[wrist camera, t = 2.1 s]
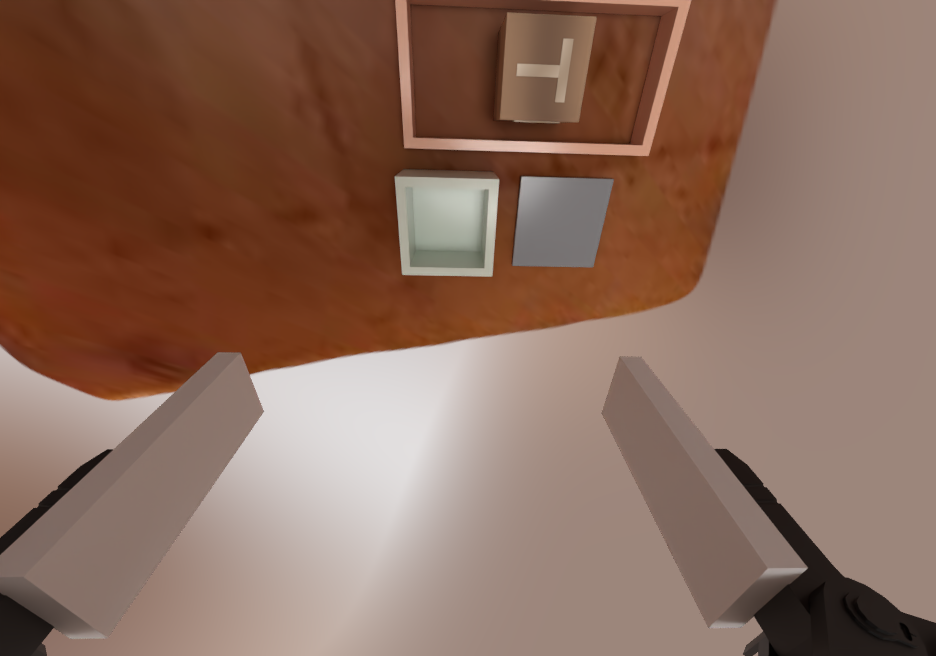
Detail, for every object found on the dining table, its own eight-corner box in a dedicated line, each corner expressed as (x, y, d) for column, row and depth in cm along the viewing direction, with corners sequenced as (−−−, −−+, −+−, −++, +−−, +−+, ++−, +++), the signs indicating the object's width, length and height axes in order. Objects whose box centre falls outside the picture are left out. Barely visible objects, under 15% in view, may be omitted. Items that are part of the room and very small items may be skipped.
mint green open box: (409, 255, 37) (402, 274, 32) (403, 169, 32) (394, 176, 27) (487, 257, 37) (492, 276, 32) (493, 171, 32) (499, 179, 28)
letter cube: (492, 121, 30) (500, 120, 25) (498, 33, 27) (507, 12, 22) (558, 124, 31) (578, 123, 25) (570, 37, 27) (597, 16, 22)
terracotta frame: (408, 146, 31) (404, 148, 29) (399, -11, 26) (393, -23, 24) (635, 154, 32) (648, 155, 30) (674, 3, 26) (693, -8, 24)
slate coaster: (511, 263, 37) (512, 265, 37) (520, 175, 33) (521, 176, 32) (591, 265, 38) (593, 267, 37) (611, 178, 33) (613, 179, 32)
